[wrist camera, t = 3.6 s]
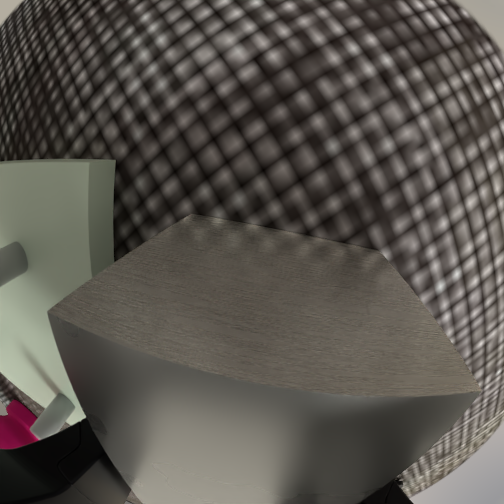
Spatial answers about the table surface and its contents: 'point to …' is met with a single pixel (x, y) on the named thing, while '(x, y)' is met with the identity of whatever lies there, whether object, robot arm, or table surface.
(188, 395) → the block
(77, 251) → the pale green peg board
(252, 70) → the table surface
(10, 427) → the pepper mill
